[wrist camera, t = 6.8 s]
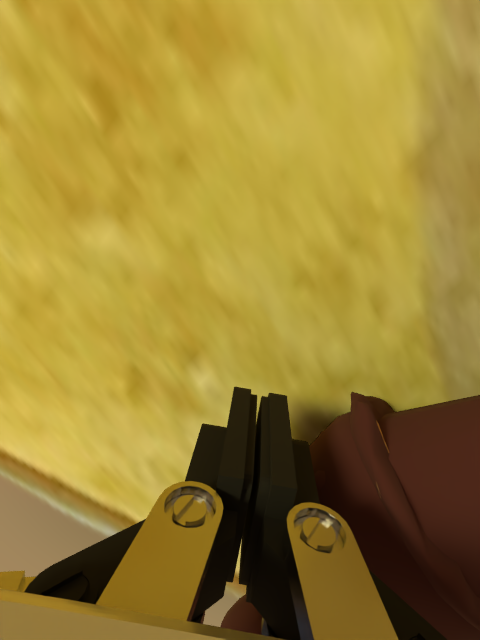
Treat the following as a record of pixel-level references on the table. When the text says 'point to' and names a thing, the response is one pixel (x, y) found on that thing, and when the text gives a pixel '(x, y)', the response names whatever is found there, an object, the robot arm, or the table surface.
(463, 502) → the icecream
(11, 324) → the table surface
